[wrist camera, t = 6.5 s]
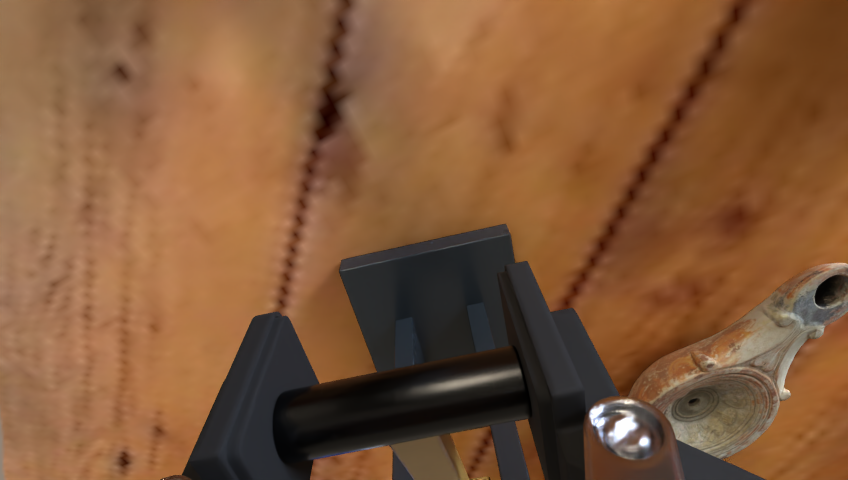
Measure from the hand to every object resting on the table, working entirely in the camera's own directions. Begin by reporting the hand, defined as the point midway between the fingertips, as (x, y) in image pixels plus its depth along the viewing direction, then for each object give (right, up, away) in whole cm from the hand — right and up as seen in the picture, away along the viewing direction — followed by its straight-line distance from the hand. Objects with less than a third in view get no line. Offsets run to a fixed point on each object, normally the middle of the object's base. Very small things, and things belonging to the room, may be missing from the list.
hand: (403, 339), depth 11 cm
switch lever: (+1, -4, +3) cm, 5 cm away
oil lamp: (+17, -6, +19) cm, 26 cm away
